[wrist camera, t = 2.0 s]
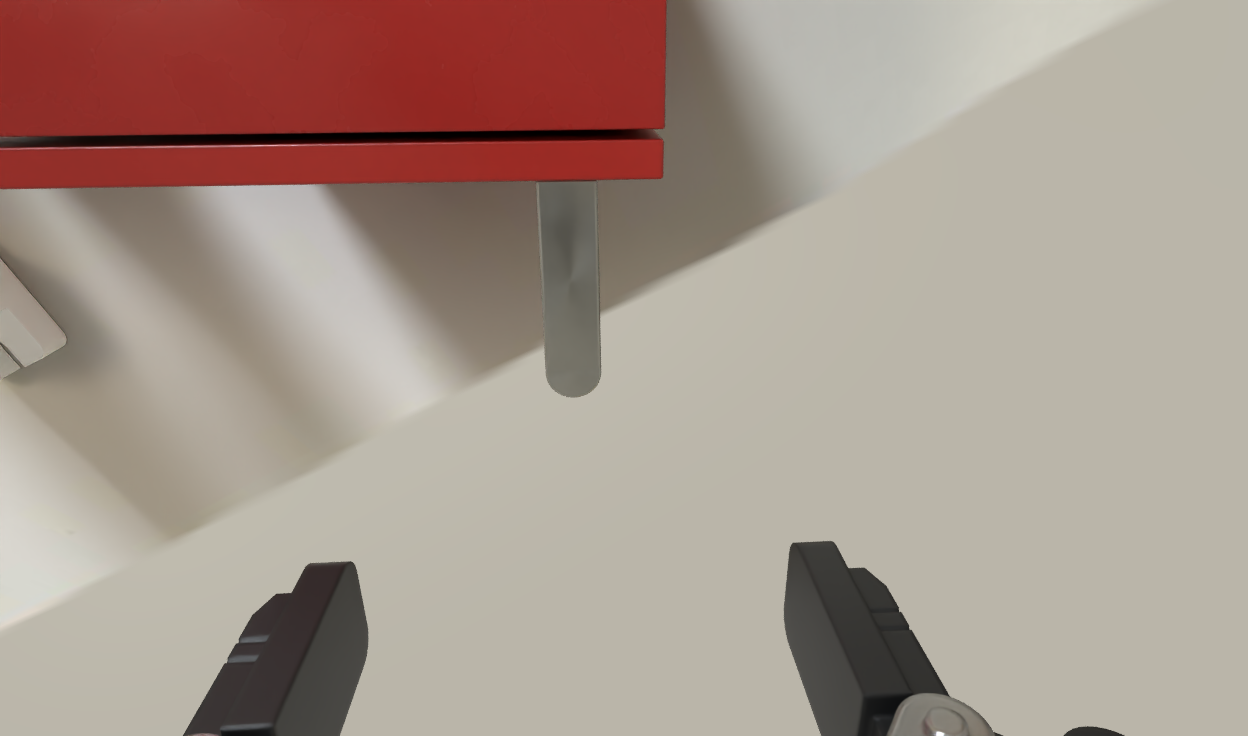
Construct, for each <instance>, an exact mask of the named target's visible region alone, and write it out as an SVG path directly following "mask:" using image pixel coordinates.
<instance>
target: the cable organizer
mask: <svg viewBox="0 0 1248 736" xmlns="http://www.w3.org/2000/svg"><path fill="white" fill-rule="evenodd" d="M66 341H67V338H66V335H65V334H64V332H63V331H62V330H61V329H60V328H59V326H58V325H57V324H56V323H55V322H54V320H53V319H52V318H51V317H50V316H49V315H48V313H47V312H46V311H45V310H44V309H43V308H42V306H41V305H40V304H39V303H38V302H37V301H36V299H35V298H34V297H33V296H32V295H31V294H30V292H29V291H28V290H27V289H26V288H25V287H24V285H23V284H22V283H21V282H20V281H19V280H18V278H17V277H16V276H15V275H14V274H13V273H12V271H11V270H10V269H9V268H8V267H7V266H6V264H5V263H4V262H3V261H2V260H1V259H0V342H1V343H2V344H4V345H5V346H6V347H7V348H8V349H9V350H10V351H11V353H12V354H13V355H14V356H15V357H16V358H17V359H18V360H19V361H20V363H21V364H22V365H23V366H24V367H27V366H29V365H31V364H33V363H35V362H37V361H39V360H40V359H42V358H44V357H46V356H47V355H49V354H51V353H52V352H54V351H56V350H58V349H59V348H61V347H63V346H64V345H65V344H66ZM18 369H20V367H19V365H18V364H17V363H16V362H15V361H14V360H13V359H12V358H11V357H10V355H9V354H8V353H7V352H6V351H5V350H4V349H3V347H2V346H1V344H0V380H1V379H3V378H4V377H6V376H8V375H10V374H11V373H13V372H15V371H17V370H18Z"/></svg>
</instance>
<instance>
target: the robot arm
mask: <svg viewBox="0 0 1248 736" xmlns="http://www.w3.org/2000/svg"><path fill="white" fill-rule="evenodd" d="M784 622H785V630H786V635H787V639H788V643H789V646H790V649H791V651H792V655H793V657H794V660H795V663H796V666H797V669H798V671H799V674H800V677H801V680H802V683H803V686H804V688H805V691H806V694H807V697H808V700H809V702H810V705H811V708H812V711H813V714H814V717H815V719H816V722H817V725H818V727H819V731H820V733H821V736H1003V735H1000V734H997V733H995V732H993V730H992V729H991V727H990V726H989V724H988V723H987V722H986V720H985V719H984V718H983V717H982V716H981V715H980V714H979V713H977V712H976V711H975V710H974V709H972V708H971V707H969V706H968V705H966V704H965V703H962V702H961V701H959V700H956V699H954V698H951V697H950V696H949V695H948V692H947V691H946V689H945V687H944V686H943V684H942V682H941V680H940V679H939V677H938V675H937V673H936V672H935V670H934V668H933V667H932V665H931V663H930V661H929V659H928V658H927V656H926V654H925V652H924V651H923V649H922V647H921V645H920V644H919V642H918V640H917V639H916V637H915V635H914V633H913V632H912V630H909V625H908V623H907V621H906V619H905V618H904V616H903V614H902V613H901V612H899V607H898V606H897V604H896V602H895V600H894V599H893V597H892V595H891V593H890V592H889V590H888V588H887V586H886V585H884V584H883V583H882V582H881V581H879V580H878V579H877V578H876V577H875V576H874V575H873V574H871V573H870V572H869V571H868V570H867V569H865V568H848V567H847V565H846V563H845V561H844V559H843V557H842V555H841V553H840V552H839V550H838V548H837V546H836V545H835V543H834V542H832V541H823V542H803V543H802V542H801V543H792V545H791V547H790V552H789V561H788V571H787V582H786V592H785V602H784ZM367 649H368V627H367V621H366V616H365V611H364V605H363V601H362V596H361V590H360V585H359V580H358V574H357V570H356V567H355V565H354V563H353V562H351V561H350V562H329V563H310V564H308V565H307V566H306V567H305V569H304V571H303V573H302V574H301V576H300V578H299V580H298V582H297V584H296V586H295V588H294V589H293V591H292V593H286V594H285V593H284V594H276V595H275V596H273V597H272V598H271V599H270V600H269V601H268V602H267V603H266V604H264V605H263V606H262V607H261V608H260V609H259V610H258V611H257V612H255V614H253V615H252V617H251V619H250V620H249V622H248V624H247V626H246V627H245V629H244V631H243V632H242V634H241V636H240V638H239V643H237V644H236V645H235V646H234V648H233V650H232V652H231V653H230V655H229V657H228V661H227V663H225V664H224V665H223V667H222V669H221V671H220V673H219V674H218V676H217V678H216V679H215V681H214V683H213V685H212V686H211V688H210V690H209V692H208V693H207V695H206V697H205V699H204V700H203V702H202V704H201V705H200V707H199V709H198V710H197V712H196V714H195V716H194V717H193V719H192V721H191V723H190V724H189V726H188V728H187V730H186V731H185V733H184V735H183V736H340V733H341V730H342V727H343V724H344V722H345V719H346V716H347V713H348V710H349V707H350V704H351V702H352V699H353V696H354V693H355V690H356V687H357V684H358V682H359V678H360V676H361V673H362V670H363V667H364V664H365V661H366V656H367ZM1064 736H1124V735H1122V734H1119V733H1117V732H1114V731H1111V730H1108V729H1104V728H1098V727H1088V726H1087V727H1078V728H1075V729H1072V730H1070V731H1068V732H1067V733H1066V734H1065V735H1064Z"/></svg>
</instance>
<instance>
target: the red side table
mask: <svg viewBox="0 0 1248 736" xmlns="http://www.w3.org/2000/svg"><path fill="white" fill-rule="evenodd" d="M663 159H664V141H663V139H662V138H661V137H660V136H659V135H658V134H657V133H656V132H655V131H654V130H653V129H624V130H541V131H458V132H374V133H291V134H207V135H124V136H40V137H0V189H51V188H115V187H179V186H243V185H307V184H372V183H436V182H500V181H536V196H537V215H538V234H539V253H540V272H541V291H542V310H543V329H544V348H545V365H546V366H545V367H546V377H547V381H548V383H549V385H550V386H551V387H552V389H554V390H555V391H556V392H557V393H559V394H561V395H563V396H566V397H580V396H583V395H586V394H588V393H590V392H591V391H592V390H593V389H594V388H595V387H596V386H597V384H598V383H599V380H600V377H601V346H600V295H599V245H598V194H597V180H628V179H661V178H663Z"/></svg>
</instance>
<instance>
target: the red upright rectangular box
mask: <svg viewBox="0 0 1248 736" xmlns="http://www.w3.org/2000/svg"><path fill="white" fill-rule="evenodd" d="M666 16H667V0H0V137H40V136H124V135H207V134H291V133H374V132H458V131H541V130H624V129H664V127H665V80H666Z"/></svg>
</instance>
